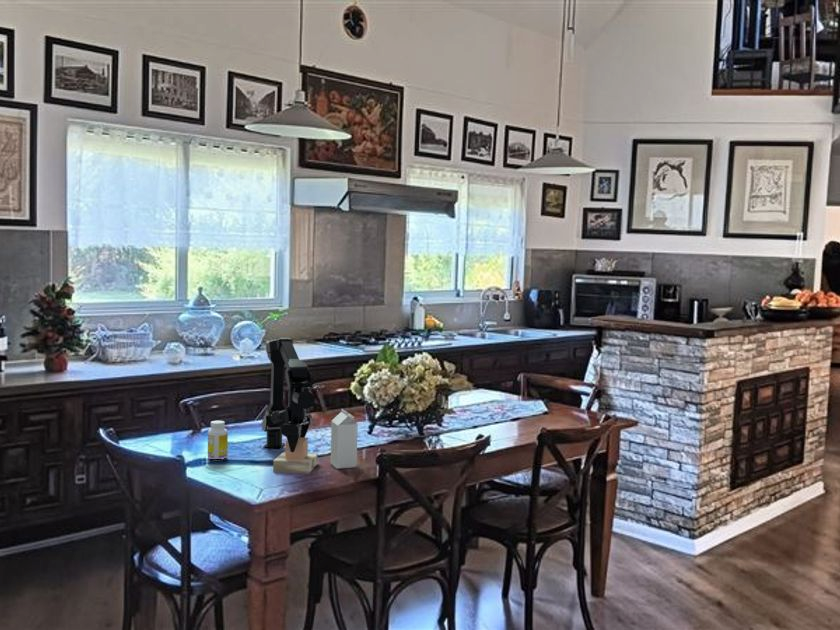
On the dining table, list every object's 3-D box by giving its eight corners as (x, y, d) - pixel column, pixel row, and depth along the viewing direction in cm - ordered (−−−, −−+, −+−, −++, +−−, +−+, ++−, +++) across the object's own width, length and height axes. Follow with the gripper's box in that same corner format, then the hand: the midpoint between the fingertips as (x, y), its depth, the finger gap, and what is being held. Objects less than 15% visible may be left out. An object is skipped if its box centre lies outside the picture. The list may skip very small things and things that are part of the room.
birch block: (283, 462, 280) (283, 451, 280) (317, 465, 279) (317, 453, 279) (273, 472, 269) (273, 460, 268) (308, 475, 267) (308, 463, 267)
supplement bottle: (229, 455, 285) (229, 419, 283) (225, 461, 278) (225, 424, 277) (209, 455, 284) (210, 419, 283) (205, 460, 278) (205, 423, 277)
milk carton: (336, 469, 273) (338, 413, 271) (330, 463, 280) (331, 409, 278) (356, 467, 276) (358, 412, 274) (350, 461, 282) (351, 408, 281)
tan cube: (290, 454, 277) (290, 436, 276) (307, 455, 276) (307, 437, 276) (285, 458, 271) (285, 441, 270) (302, 460, 270) (303, 442, 270)
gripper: (281, 395, 282) (281, 440, 283) (265, 407, 263) (264, 454, 265) (313, 397, 280) (312, 442, 282) (298, 409, 262) (297, 456, 264)
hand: (296, 448), depth 273 cm, fingers open, 9 cm apart
